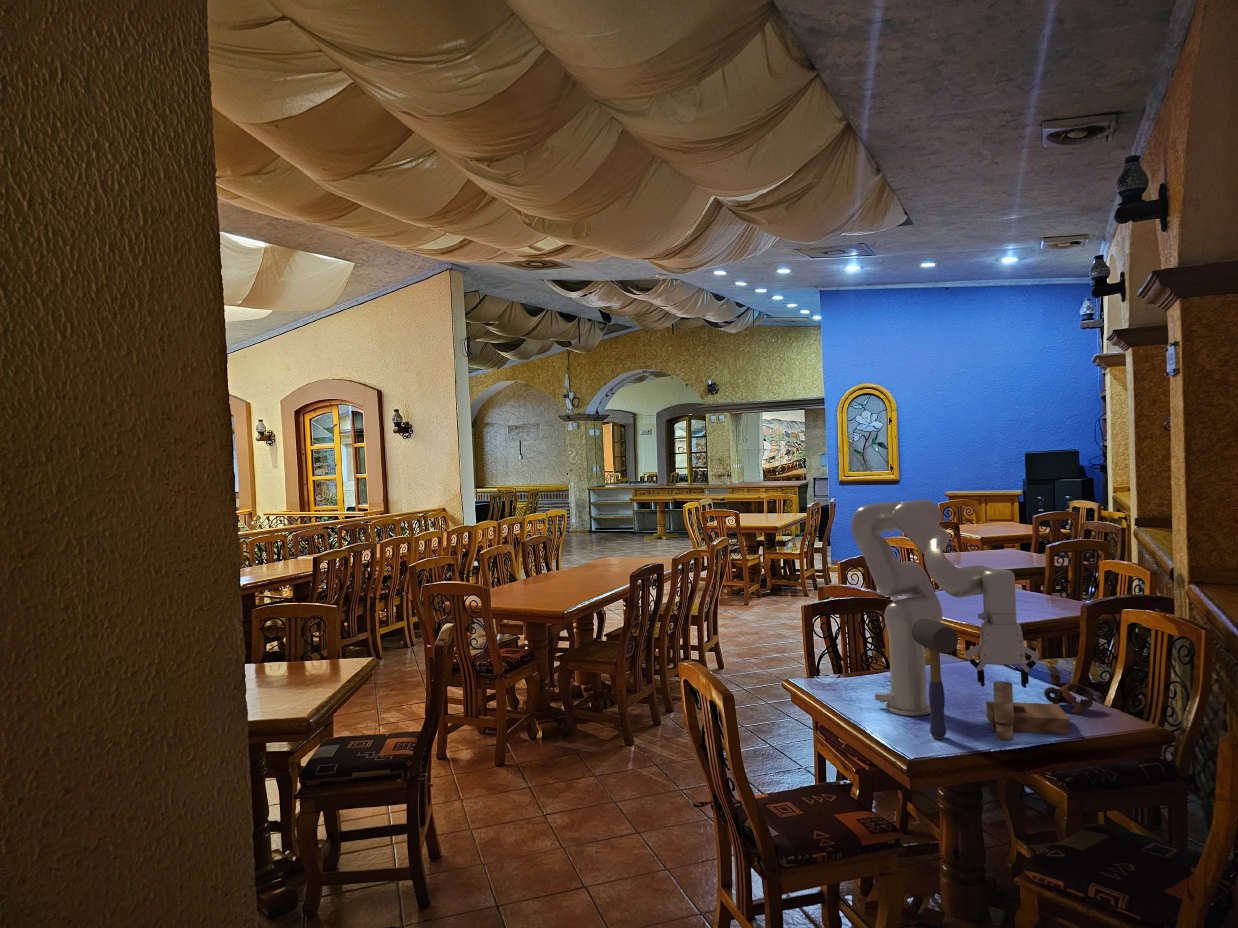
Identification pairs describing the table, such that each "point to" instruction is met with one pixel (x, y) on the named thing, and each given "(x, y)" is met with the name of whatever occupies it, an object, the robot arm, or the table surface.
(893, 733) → the table surface
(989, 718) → the board
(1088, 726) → the table surface
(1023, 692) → the table surface
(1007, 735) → the peg
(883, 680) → the table surface
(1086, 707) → the dark looped piece
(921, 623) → the rubber mallet
